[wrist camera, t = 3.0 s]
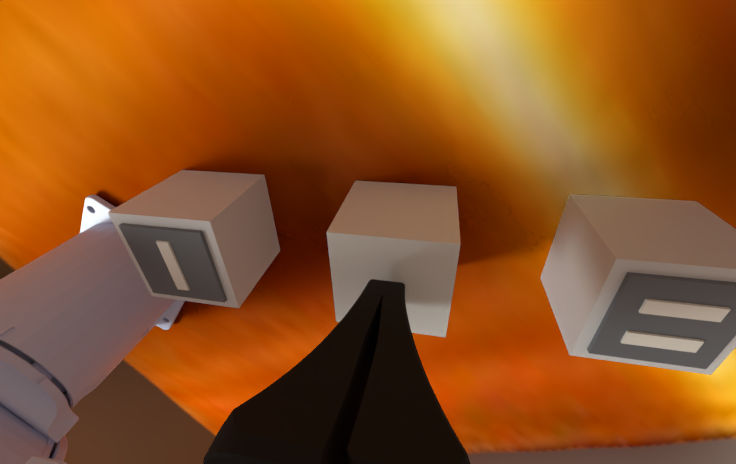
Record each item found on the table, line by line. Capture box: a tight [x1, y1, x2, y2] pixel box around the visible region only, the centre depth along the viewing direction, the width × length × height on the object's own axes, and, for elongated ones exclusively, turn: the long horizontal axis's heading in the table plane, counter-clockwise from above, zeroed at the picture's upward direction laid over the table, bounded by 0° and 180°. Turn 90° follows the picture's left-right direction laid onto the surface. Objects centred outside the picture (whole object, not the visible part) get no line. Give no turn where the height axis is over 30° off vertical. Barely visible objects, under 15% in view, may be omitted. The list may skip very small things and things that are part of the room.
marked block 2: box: [540, 194, 736, 375], centre depth 14 cm, size 5×5×5 cm
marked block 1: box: [108, 170, 280, 308], centre depth 17 cm, size 5×5×5 cm
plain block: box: [326, 180, 461, 337], centre depth 15 cm, size 5×5×5 cm
